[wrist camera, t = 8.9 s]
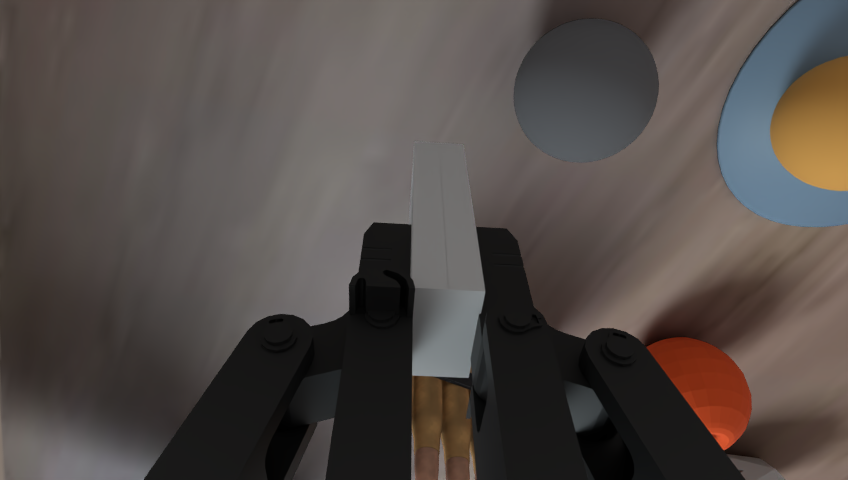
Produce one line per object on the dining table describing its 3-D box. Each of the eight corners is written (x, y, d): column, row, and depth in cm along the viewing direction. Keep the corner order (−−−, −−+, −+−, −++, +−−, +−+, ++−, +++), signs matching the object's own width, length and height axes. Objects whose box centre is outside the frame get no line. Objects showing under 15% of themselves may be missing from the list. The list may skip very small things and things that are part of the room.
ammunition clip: (382, 311, 33) (362, 507, 23) (395, 293, 32) (381, 489, 22) (523, 366, 36) (556, 558, 26) (539, 350, 35) (580, 544, 25)
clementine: (623, 400, 38) (656, 499, 33) (577, 350, 35) (606, 450, 29) (735, 357, 35) (793, 457, 29) (697, 297, 32) (755, 397, 26)
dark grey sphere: (624, 201, 20) (649, 143, 24) (664, 52, 16) (685, 13, 20) (487, 167, 22) (531, 118, 26) (499, 28, 19) (547, -3, 22)
